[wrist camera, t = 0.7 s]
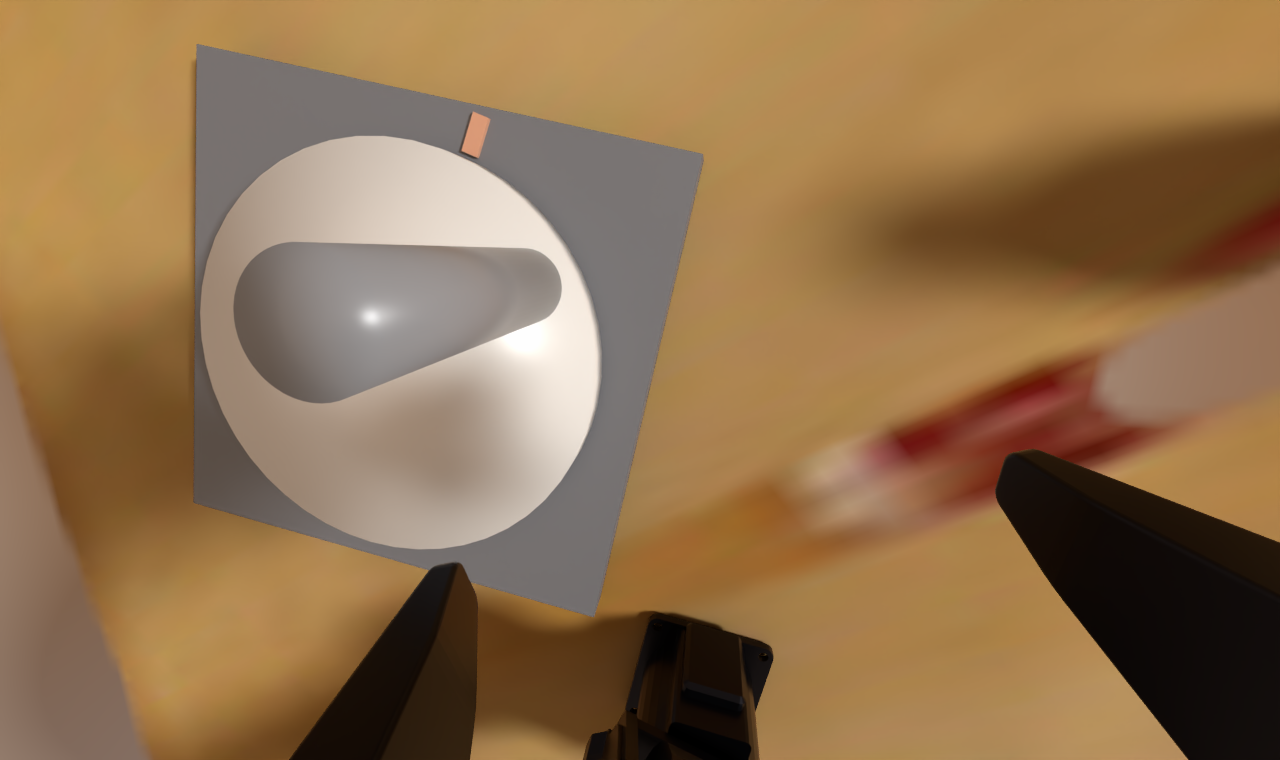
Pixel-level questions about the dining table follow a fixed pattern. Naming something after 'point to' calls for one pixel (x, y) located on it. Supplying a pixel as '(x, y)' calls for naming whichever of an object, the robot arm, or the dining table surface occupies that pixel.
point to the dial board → (564, 193)
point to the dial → (400, 341)
